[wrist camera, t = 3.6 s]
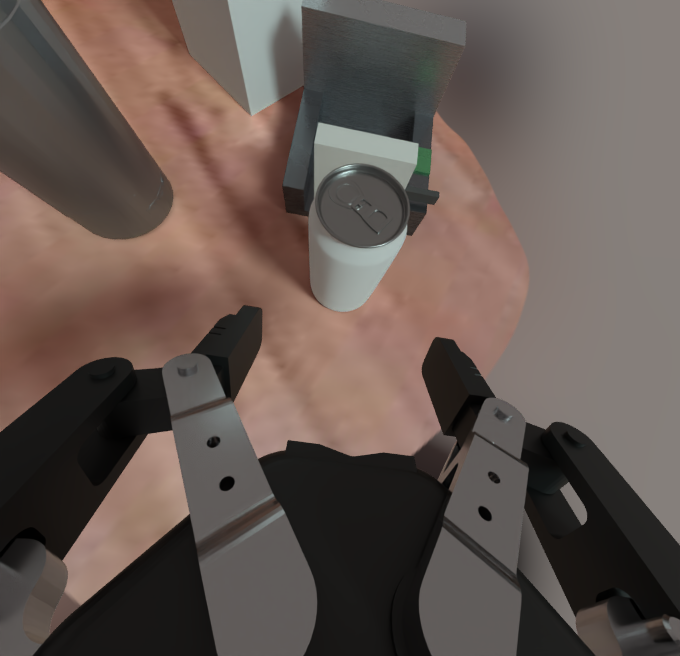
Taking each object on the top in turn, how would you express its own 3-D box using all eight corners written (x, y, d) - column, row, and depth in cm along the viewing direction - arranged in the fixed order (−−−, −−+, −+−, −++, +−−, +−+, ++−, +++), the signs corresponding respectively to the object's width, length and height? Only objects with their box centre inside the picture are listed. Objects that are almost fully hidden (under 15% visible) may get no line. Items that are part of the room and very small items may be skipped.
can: (338, 243, 27) (357, 138, 16) (384, 282, 27) (438, 204, 15) (296, 284, 26) (282, 202, 14) (344, 326, 25) (370, 277, 14)
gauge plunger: (314, 210, 27) (314, 143, 19) (317, 193, 27) (318, 122, 20) (420, 230, 27) (459, 173, 20) (421, 214, 28) (460, 152, 20)
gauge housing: (286, 212, 27) (272, 121, 18) (309, 105, 31) (307, -19, 21) (411, 235, 28) (461, 161, 19) (420, 129, 32) (466, 21, 22)
